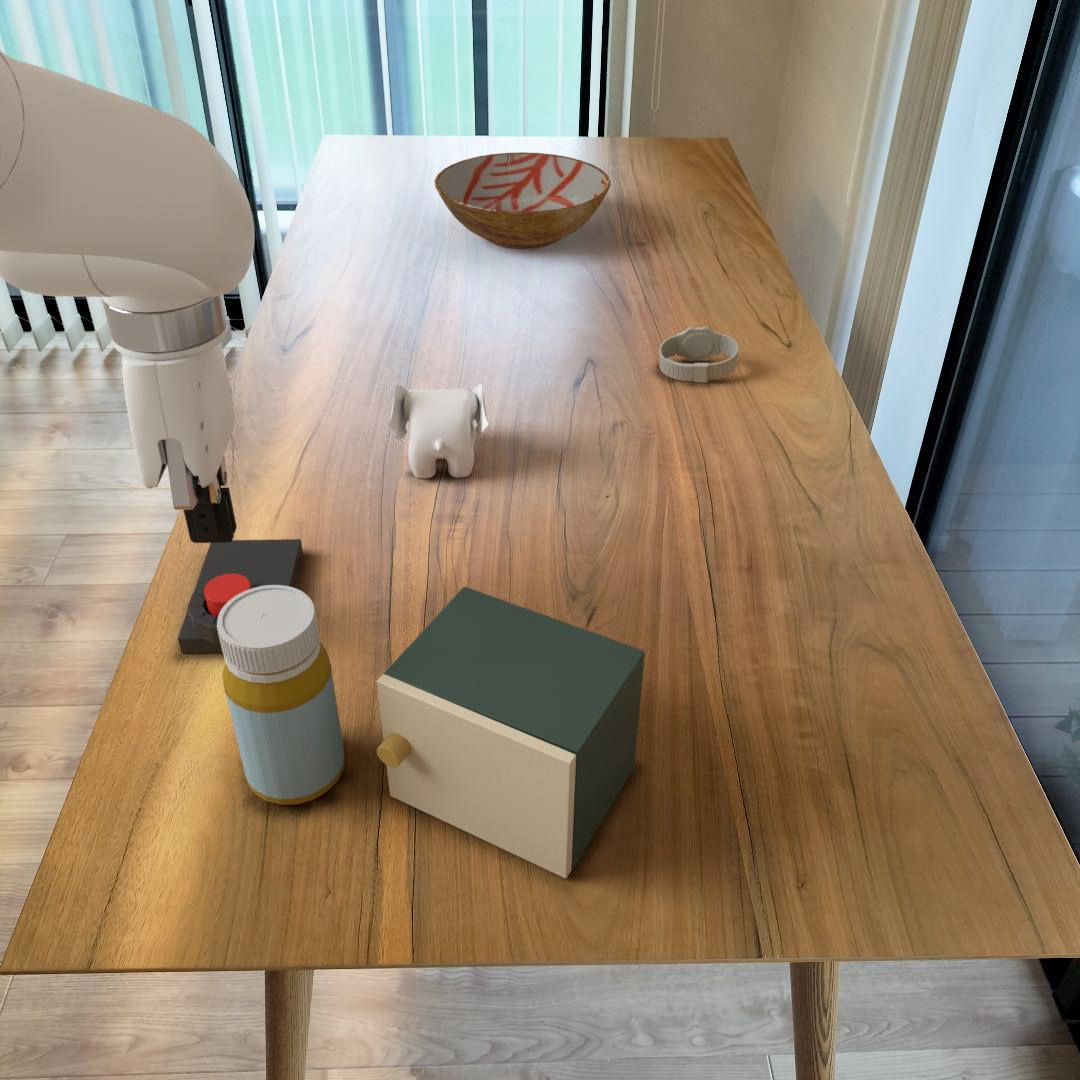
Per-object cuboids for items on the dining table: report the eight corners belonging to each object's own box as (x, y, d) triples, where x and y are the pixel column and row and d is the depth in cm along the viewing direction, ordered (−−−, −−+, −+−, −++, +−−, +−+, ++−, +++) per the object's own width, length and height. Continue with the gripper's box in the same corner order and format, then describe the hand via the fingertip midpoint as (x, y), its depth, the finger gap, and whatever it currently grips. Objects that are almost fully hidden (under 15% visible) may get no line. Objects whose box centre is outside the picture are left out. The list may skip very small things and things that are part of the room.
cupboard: (572, 870, 71) (577, 752, 64) (396, 790, 76) (383, 673, 69) (634, 767, 78) (645, 650, 71) (469, 701, 84) (464, 585, 76)
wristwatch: (735, 361, 128) (740, 322, 125) (737, 387, 123) (742, 347, 120) (657, 357, 129) (660, 318, 126) (657, 383, 124) (660, 343, 121)
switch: (279, 658, 87) (273, 626, 85) (179, 660, 87) (170, 628, 85) (303, 553, 98) (298, 522, 96) (214, 555, 98) (207, 523, 96)
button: (249, 618, 86) (245, 601, 85) (203, 619, 86) (199, 602, 85) (256, 589, 89) (253, 573, 88) (212, 590, 89) (209, 573, 88)
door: (555, 895, 69) (559, 779, 63) (377, 810, 75) (362, 694, 68) (571, 870, 71) (576, 754, 64) (396, 788, 76) (383, 673, 69)
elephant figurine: (489, 427, 116) (487, 353, 110) (489, 492, 106) (487, 413, 101) (399, 429, 115) (393, 354, 110) (392, 493, 106) (385, 415, 100)
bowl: (628, 261, 151) (631, 205, 146) (450, 275, 147) (448, 218, 142) (584, 198, 171) (586, 147, 166) (426, 209, 166) (423, 157, 162)
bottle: (314, 721, 82) (287, 566, 73) (364, 777, 77) (342, 620, 68) (230, 766, 78) (190, 609, 69) (277, 827, 74) (241, 669, 65)
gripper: (139, 271, 78) (187, 483, 89) (75, 368, 66) (139, 599, 77) (244, 270, 78) (279, 482, 89) (199, 367, 66) (245, 598, 77)
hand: (214, 536), depth 83 cm, fingers closed
